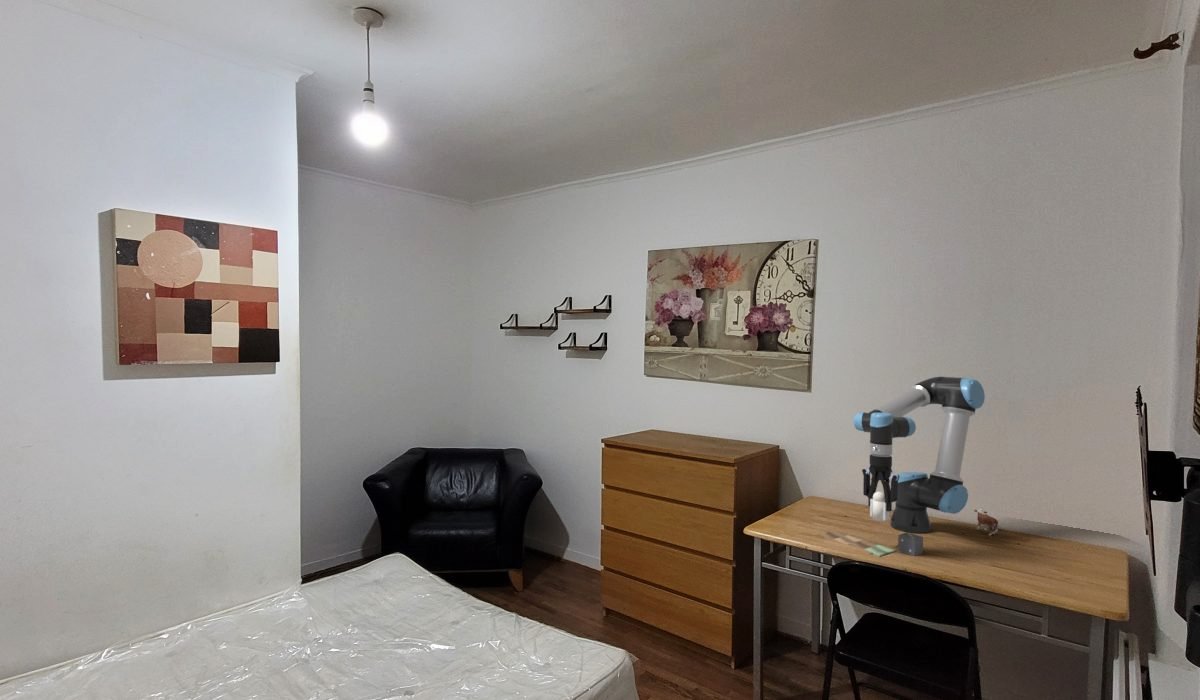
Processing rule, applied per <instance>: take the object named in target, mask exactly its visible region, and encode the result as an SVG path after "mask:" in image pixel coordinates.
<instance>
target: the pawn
mask: <svg viewBox="0 0 1200 700" xmlns="http://www.w3.org/2000/svg"><path fill="white" fill-rule="evenodd" d="M884 501H886V500H885V495H884V491H883V492H882V491H876V492H875V493H874V494H873V508H872V518H871V519H872V520H873V521H878V522H886V521H887V520H883V504H884Z"/></svg>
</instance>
